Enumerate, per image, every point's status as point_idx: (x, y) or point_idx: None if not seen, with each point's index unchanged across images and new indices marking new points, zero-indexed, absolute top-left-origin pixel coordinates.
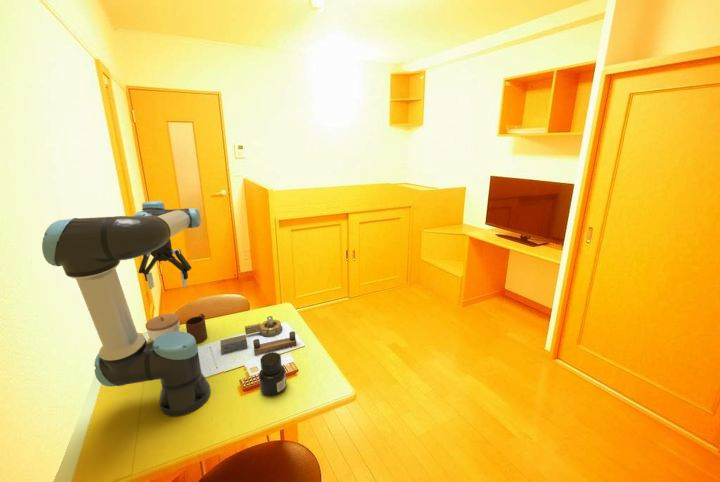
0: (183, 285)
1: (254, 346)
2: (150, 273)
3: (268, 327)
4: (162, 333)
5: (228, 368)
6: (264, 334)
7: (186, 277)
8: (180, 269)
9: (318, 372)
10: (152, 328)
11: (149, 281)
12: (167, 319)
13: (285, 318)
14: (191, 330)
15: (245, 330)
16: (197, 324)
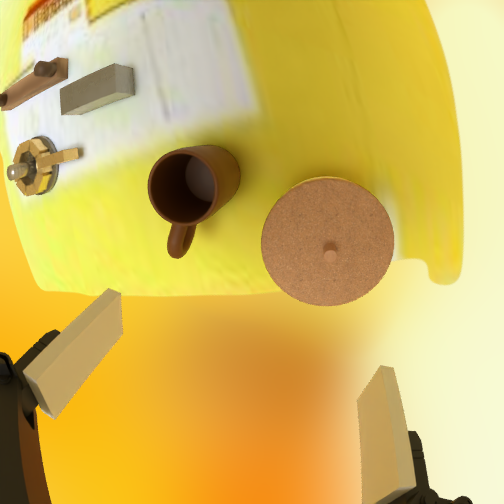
0: (104, 299)
1: (51, 63)
2: (373, 500)
3: (33, 162)
4: (322, 177)
5: (119, 12)
6: (45, 142)
7: (42, 338)
8: (8, 407)
9: (8, 19)
10: (360, 187)
11: (392, 422)
12: (307, 248)
13: (25, 219)
14: (201, 148)
15: (67, 149)
16: (167, 153)
